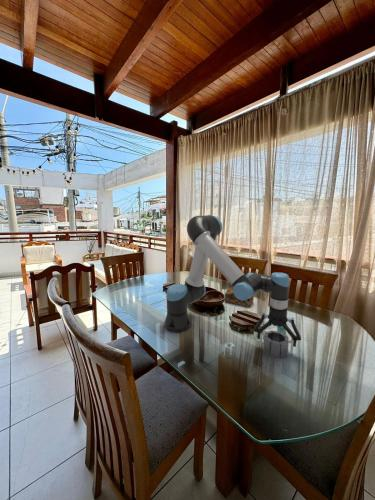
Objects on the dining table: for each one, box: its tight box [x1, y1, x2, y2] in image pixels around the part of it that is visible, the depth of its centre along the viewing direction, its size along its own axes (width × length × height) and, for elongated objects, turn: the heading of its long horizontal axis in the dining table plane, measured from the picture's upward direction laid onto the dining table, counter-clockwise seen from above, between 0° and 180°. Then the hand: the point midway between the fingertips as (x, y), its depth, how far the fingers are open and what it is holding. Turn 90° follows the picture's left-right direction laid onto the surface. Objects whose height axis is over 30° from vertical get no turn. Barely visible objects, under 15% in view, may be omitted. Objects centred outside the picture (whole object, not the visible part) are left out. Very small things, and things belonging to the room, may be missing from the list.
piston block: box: [263, 322, 296, 343], centre depth 114 cm, size 12×12×7 cm
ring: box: [262, 330, 290, 359], centre depth 102 cm, size 10×10×7 cm
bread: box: [224, 287, 255, 308], centre depth 155 cm, size 19×11×10 cm, turn 59°
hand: (275, 348), depth 102 cm, fingers open, 13 cm apart
